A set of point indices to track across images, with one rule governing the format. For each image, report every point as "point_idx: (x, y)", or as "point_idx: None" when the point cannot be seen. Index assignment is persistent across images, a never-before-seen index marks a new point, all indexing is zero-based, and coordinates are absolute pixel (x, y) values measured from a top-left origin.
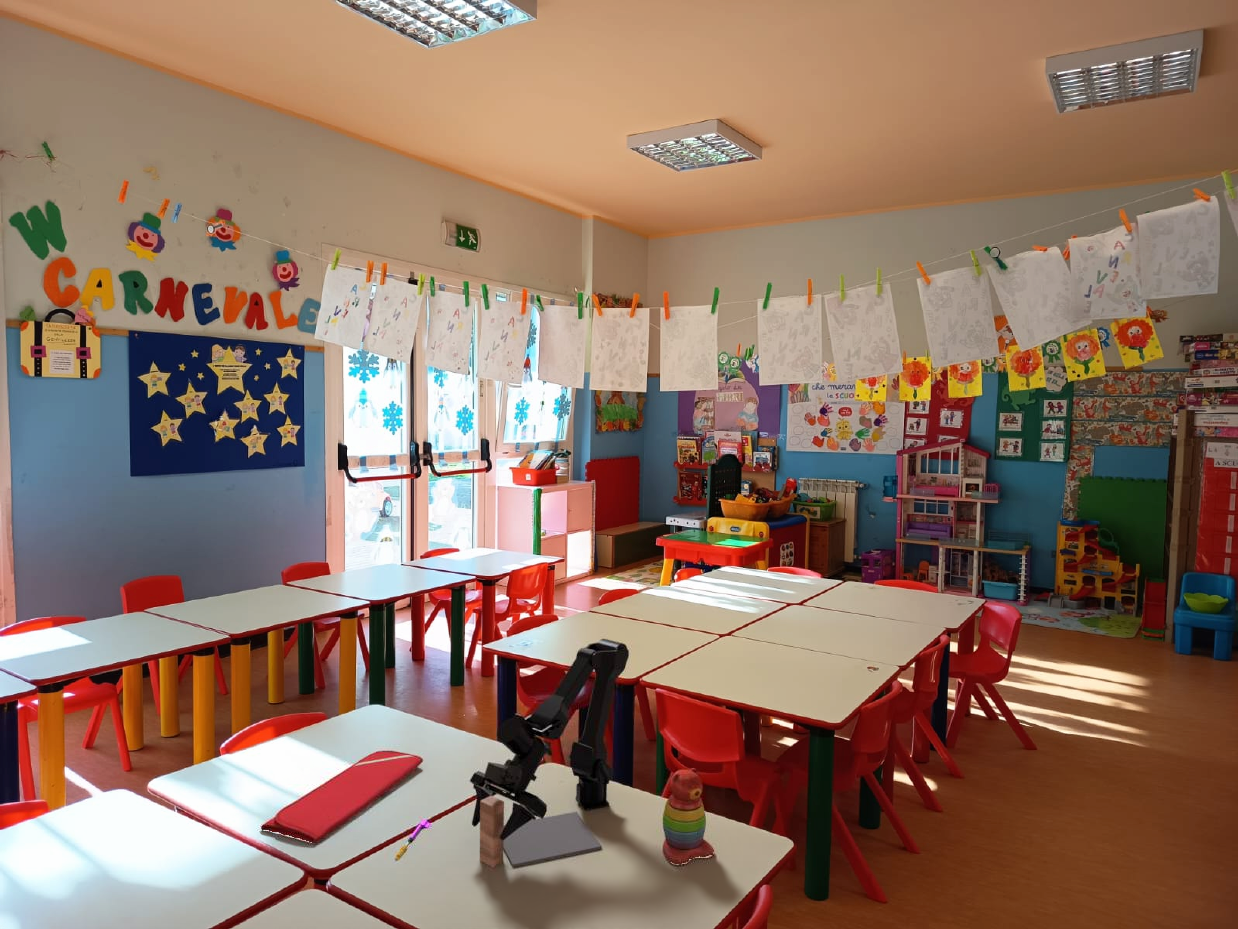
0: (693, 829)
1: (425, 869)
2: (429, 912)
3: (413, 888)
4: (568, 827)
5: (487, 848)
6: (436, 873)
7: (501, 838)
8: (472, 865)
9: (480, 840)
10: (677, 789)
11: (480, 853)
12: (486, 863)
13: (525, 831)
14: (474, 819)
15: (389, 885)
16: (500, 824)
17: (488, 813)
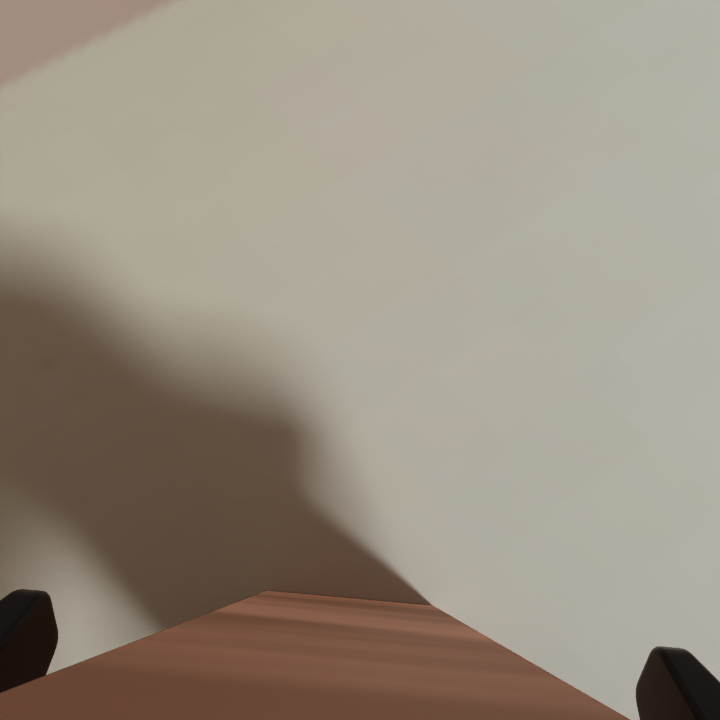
0: None
1: (661, 272)
2: (283, 3)
3: (540, 96)
4: None
5: (329, 606)
6: (561, 280)
7: (11, 598)
8: (428, 511)
9: (454, 624)
10: None
11: (431, 610)
12: (347, 598)
13: None
14: (706, 709)
15: (676, 46)
16: None
17: (270, 687)
